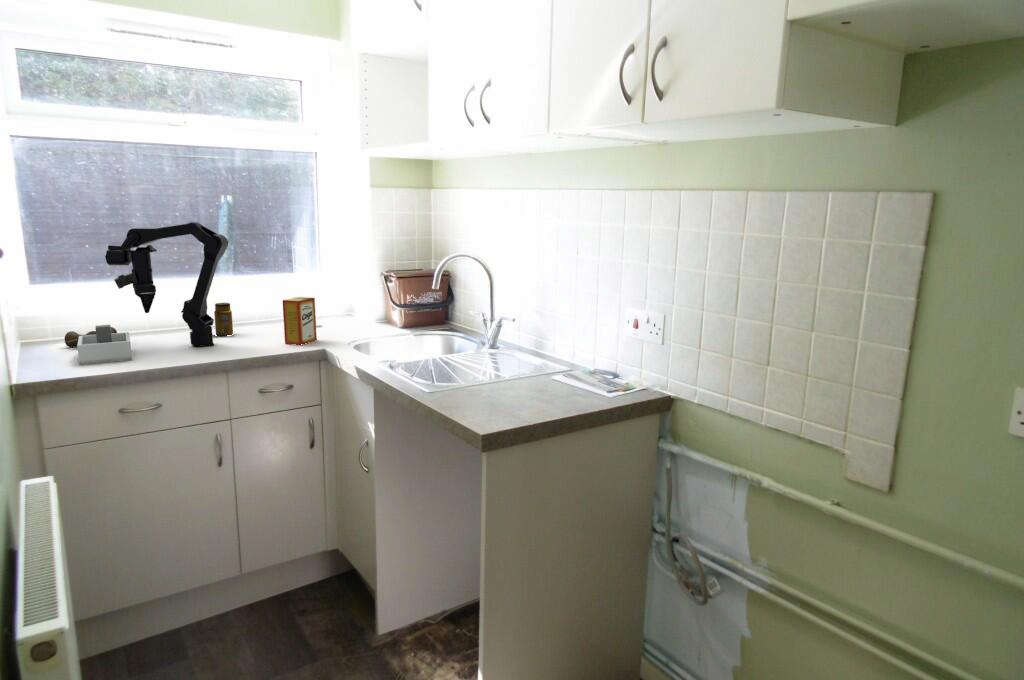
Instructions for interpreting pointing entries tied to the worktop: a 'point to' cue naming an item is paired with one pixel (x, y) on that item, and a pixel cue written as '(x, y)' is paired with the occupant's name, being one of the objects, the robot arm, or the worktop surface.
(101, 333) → the block
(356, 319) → the worktop surface
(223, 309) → the condiment
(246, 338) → the worktop surface
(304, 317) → the baking soda box
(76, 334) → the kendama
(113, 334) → the walled box
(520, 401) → the worktop surface
